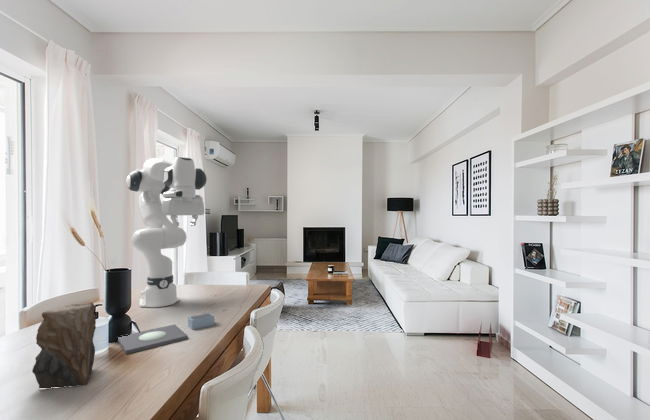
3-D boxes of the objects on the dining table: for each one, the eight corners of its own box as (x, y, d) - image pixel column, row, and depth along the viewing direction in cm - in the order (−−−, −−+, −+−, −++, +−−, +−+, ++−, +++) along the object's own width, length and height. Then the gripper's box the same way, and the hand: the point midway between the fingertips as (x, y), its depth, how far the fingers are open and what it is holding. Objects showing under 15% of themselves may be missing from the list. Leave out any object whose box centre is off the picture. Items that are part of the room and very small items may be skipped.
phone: (188, 327, 135) (188, 316, 135) (209, 322, 141) (209, 312, 141) (192, 330, 131) (192, 320, 131) (214, 325, 137) (214, 315, 137)
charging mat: (117, 339, 121) (117, 336, 121) (174, 327, 134) (174, 323, 134) (125, 354, 109) (125, 350, 109) (187, 338, 122) (187, 335, 122)
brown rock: (30, 392, 86) (30, 316, 86) (56, 369, 98) (56, 302, 98) (85, 385, 89) (85, 312, 89) (104, 364, 101) (104, 300, 101)
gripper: (197, 195, 153) (197, 225, 153) (159, 193, 134) (159, 226, 134) (207, 195, 150) (207, 225, 150) (170, 192, 132) (171, 226, 131)
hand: (184, 226), depth 142 cm, fingers open, 8 cm apart
